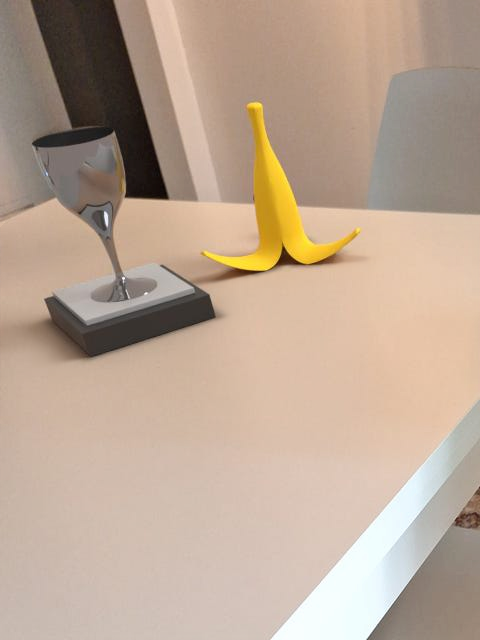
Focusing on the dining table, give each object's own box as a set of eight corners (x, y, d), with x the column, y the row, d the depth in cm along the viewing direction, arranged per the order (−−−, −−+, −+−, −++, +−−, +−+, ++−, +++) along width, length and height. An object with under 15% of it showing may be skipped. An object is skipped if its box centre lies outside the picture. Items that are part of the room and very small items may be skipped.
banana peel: (204, 282, 109) (160, 124, 98) (281, 230, 122) (250, 85, 111) (328, 288, 104) (297, 122, 93) (395, 233, 117) (374, 82, 106)
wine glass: (174, 276, 102) (129, 125, 92) (136, 304, 96) (84, 146, 87) (113, 275, 104) (63, 127, 94) (72, 302, 98) (14, 148, 89)
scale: (90, 357, 95) (79, 327, 93) (52, 320, 104) (41, 293, 102) (216, 317, 100) (208, 288, 98) (169, 285, 109) (161, 258, 107)
